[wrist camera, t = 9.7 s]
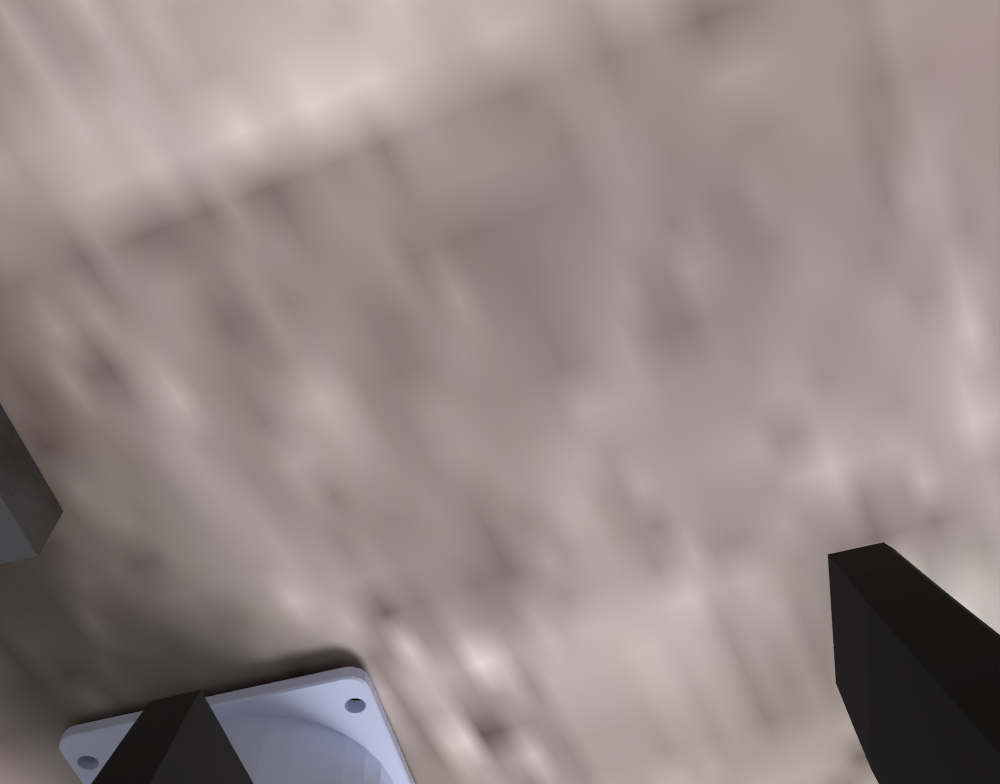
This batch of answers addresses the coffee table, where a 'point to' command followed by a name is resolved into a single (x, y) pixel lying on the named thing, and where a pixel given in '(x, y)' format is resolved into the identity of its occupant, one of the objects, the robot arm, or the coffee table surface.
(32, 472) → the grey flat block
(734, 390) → the coffee table surface
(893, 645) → the robot arm
